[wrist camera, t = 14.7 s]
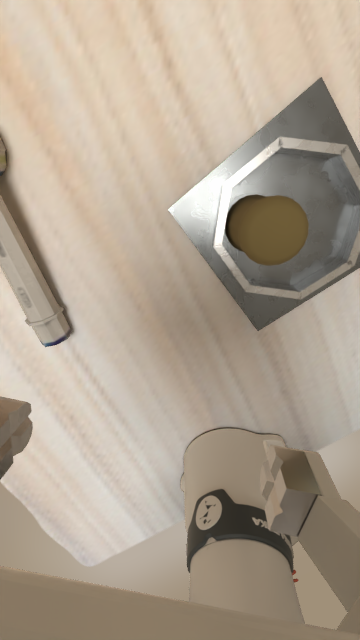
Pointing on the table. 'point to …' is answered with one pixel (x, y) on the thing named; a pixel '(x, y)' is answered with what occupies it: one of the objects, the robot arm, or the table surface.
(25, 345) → the table surface
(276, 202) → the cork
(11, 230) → the toothbrush head
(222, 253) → the duct collar
